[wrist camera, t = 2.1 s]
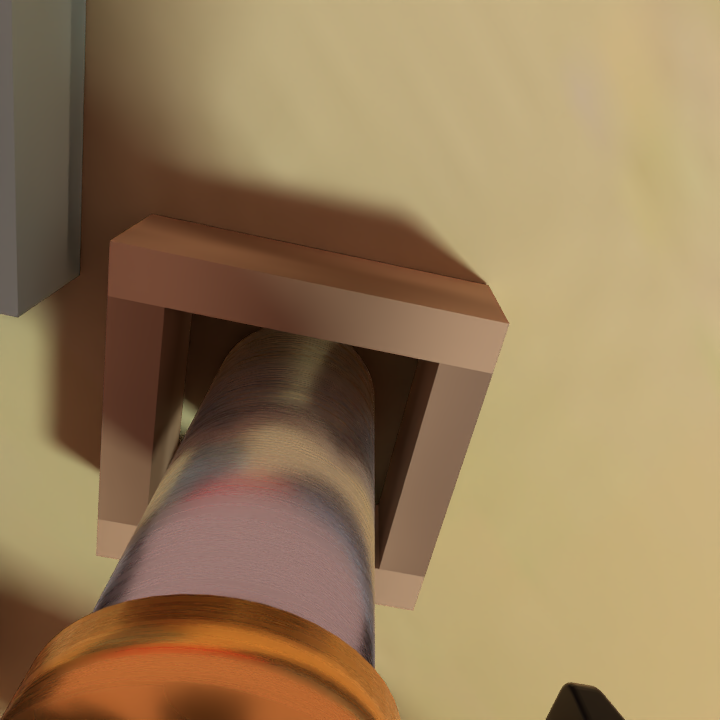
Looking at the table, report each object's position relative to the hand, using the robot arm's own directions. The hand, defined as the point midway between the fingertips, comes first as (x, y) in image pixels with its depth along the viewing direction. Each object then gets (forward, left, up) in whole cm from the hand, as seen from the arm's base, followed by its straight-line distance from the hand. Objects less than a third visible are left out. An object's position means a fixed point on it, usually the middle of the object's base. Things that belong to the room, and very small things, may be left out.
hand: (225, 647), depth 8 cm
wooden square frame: (0, 0, -7) cm, 7 cm away
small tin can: (0, 0, -7) cm, 7 cm away
